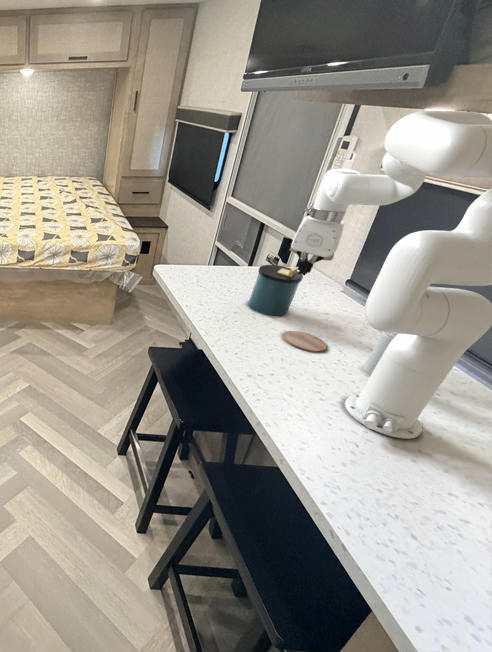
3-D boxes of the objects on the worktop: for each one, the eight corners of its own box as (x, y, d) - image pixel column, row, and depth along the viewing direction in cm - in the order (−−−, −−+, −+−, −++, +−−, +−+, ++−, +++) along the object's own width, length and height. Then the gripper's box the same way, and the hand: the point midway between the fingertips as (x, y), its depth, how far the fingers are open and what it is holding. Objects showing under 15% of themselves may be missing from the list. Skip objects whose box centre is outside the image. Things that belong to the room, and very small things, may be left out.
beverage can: (363, 364, 105) (384, 326, 99) (387, 373, 101) (410, 334, 96) (361, 373, 102) (382, 334, 96) (386, 381, 98) (409, 342, 93)
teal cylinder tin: (281, 321, 124) (296, 283, 118) (241, 307, 132) (253, 271, 126) (293, 309, 131) (308, 272, 125) (254, 296, 139) (266, 261, 132)
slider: (291, 277, 122) (293, 271, 121) (276, 273, 124) (278, 267, 123) (295, 273, 124) (298, 267, 123) (281, 269, 127) (283, 263, 126)
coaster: (320, 356, 108) (321, 355, 108) (278, 340, 114) (279, 339, 114) (330, 343, 113) (330, 341, 113) (289, 328, 120) (290, 327, 120)
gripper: (291, 211, 115) (270, 269, 124) (357, 223, 105) (329, 285, 114) (299, 207, 120) (279, 263, 128) (363, 218, 109) (336, 278, 118)
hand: (302, 273), depth 121 cm, fingers closed
